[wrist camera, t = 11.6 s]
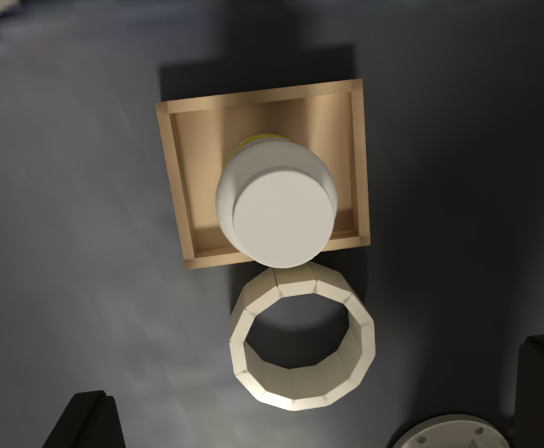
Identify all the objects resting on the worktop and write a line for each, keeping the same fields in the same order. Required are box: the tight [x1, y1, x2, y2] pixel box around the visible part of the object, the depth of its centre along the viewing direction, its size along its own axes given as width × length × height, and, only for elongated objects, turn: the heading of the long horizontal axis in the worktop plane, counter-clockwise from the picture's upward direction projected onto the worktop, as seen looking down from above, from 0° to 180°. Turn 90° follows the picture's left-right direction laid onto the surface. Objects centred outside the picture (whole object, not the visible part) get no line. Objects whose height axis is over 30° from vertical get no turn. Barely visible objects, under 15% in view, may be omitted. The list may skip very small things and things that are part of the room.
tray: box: [155, 78, 370, 270], centre depth 30 cm, size 14×12×2 cm
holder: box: [229, 261, 375, 411], centre depth 33 cm, size 11×11×4 cm
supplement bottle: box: [215, 133, 338, 268], centre depth 25 cm, size 7×7×13 cm
